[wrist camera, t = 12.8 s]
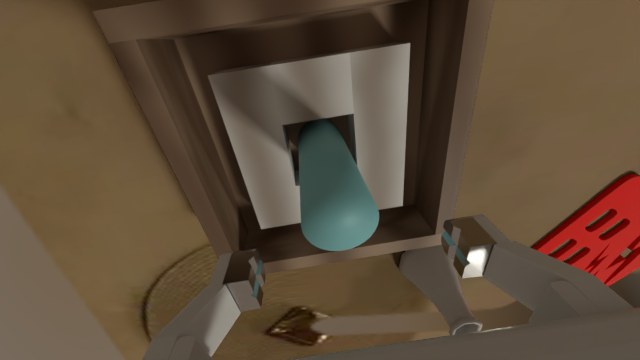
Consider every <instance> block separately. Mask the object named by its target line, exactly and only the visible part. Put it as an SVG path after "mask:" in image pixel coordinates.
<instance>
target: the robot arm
mask: <svg viewBox="0 0 640 360" xmlns="http://www.w3.org/2000/svg"><path fill="white" fill-rule="evenodd" d="M443 228H444V229H445V230H446V231H445V232H444V233H443V234H442V237H441V243H442V247H443V250H444V252H445V253H446V255H447V256H448V257H449V258H451V259H453V260H454V262H453V266H454V267H455V269H456V270H457V272H458V273H459V275H460V276H461V277H462V278H469V277H477V276H483V277H484V278H486V279H487V280H488V281H490V282H491V283H493V284H494V285H496V286H497V287H499V288H500V289H502V290H503V291H504V292H506V293H507V294H509V295H510V296H512V297H513V298H515V299H516V300H518V301H519V302H521V303H522V304H523V305H525V306H526V307H528V308H529V309H531V310H532V311H534V313H533V314H532V316H531V318H530V319H529V322H528V324H525V325H519V326H512V327H506V328H498V329H492V330H484V331H478V332H471V333H464V334H457V335H450V336H443V337H436V338H429V339H423V340H416V341H409V342H402V343H395V344H388V345H382V346H375V347H368V348H361V349H354V350H347V351H341V352H334V353H327V354H320V355H313V356H307V357H300V358H293V359H286V360H640V308H633V307H632V306H631V305H630V304H628V303H627V302H626V301H625V300H623V299H622V298H621V297H620V296H618V295H617V294H616V293H615V292H614V291H613V290H611V289H610V288H609V287H608V286H606V285H605V284H604V283H603V282H602V281H600V280H599V279H598V278H597V277H596V276H594V275H593V274H590V273H588V272H586V271H583V270H581V269H579V268H576V267H574V266H572V265H569V264H567V263H565V262H562V261H560V260H558V259H555V258H553V257H551V256H548V255H546V254H544V253H541V252H539V251H537V250H535V249H532V248H530V247H528V246H525V245H523V244H521V243H518V242H516V241H513V242H511V241H510V240H509V239H508V238H507V237H506V236H505V235H504V234H503V233H502V232H501V231H500V230H499V229H498V228H497V227H496V226H495V225H494V224H493V223H492V222H491V221H490V220H489V219H488V218H487V217H486V216H484V215H482V214H481V215H475V216H469V217H462V218H456V219H450V220H446V221H445V222H444V225H443ZM259 257H260V254H259V251H258V249H251V250H243V251H235V252H229V253H222V254H221V255H220V256H219V259H218V262H217V265H216V267H215V270H214V273H213V276H212V278H211V281H210V284H209V287H205V288H204V289H203V290H202V291H201V292H200V293H199V294H198V295H197V296H196V297H195V298H194V299H193V300H192V301H191V302H190V303H189V304H188V305H187V306H186V307H185V308H184V309H183V310H182V311H181V312H180V313H179V314H178V315H177V316H176V317H175V318H174V319H172V320H171V321H170V322H169V323H168V324H167V325H166V326H165V327H164V328H163V329H162V330H161V331H160V332H159V333H158V334H157V335H156V336H155V337H154V338H153V339H152V341H151V343H150V345H149V347H148V349H147V351H146V353H145V355H144V357H143V359H142V360H213V359H212V358H211V356H212V355H213V353H214V352H215V351H216V349H217V348H218V346H219V345H220V343H221V342H222V340H223V339H224V337H225V336H226V334H227V333H228V331H229V330H230V328H231V327H232V325H233V324H234V322H235V321H236V319H237V318H238V316H239V315H240V313H241V312H242V311H247V310H253V309H259V308H261V305H262V298H263V291H262V289H261V287H262V286H263V285H264V284H265V268H264V264H263V261H261V260H259Z"/></svg>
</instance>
